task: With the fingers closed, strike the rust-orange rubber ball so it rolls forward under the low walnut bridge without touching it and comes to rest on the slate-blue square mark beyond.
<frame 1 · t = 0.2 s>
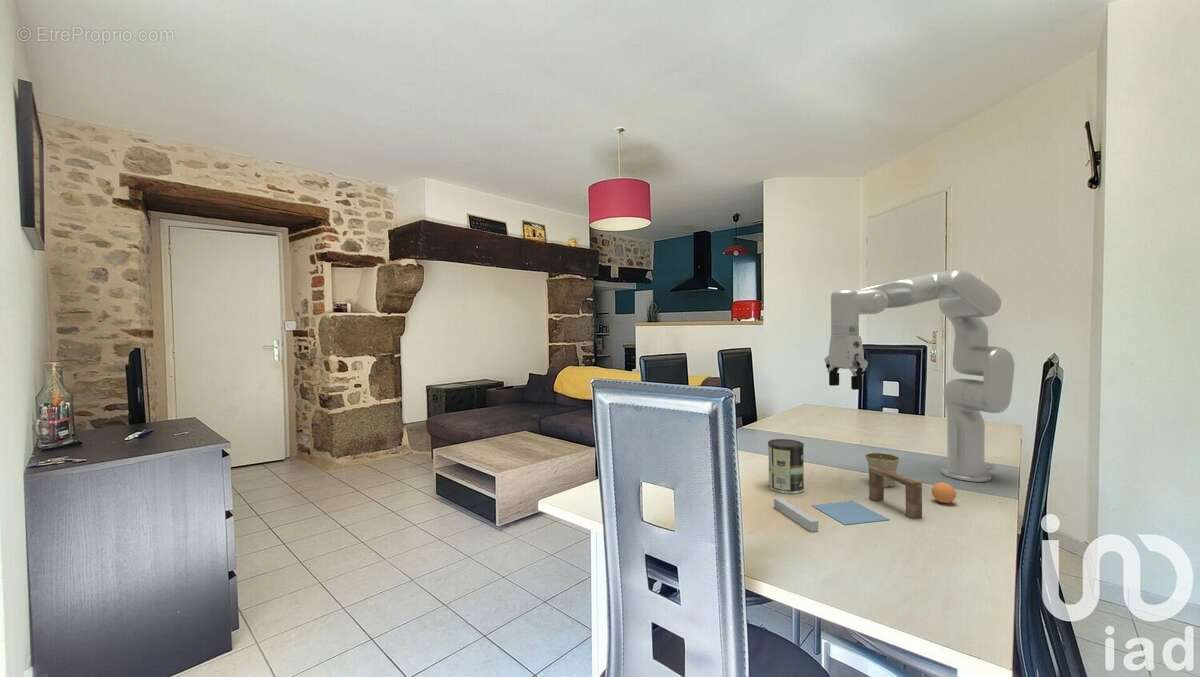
hand: (845, 387, 142), 31 cm above the table, tool pointing down, fingers open, 9 cm apart
coffee can: (786, 488, 144), on the table
bridge: (894, 507, 127), on the table
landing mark: (849, 512, 124), on the table
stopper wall: (794, 518, 121), on the table
ball: (943, 492, 130), on the table
flower pot: (882, 484, 146), on the table
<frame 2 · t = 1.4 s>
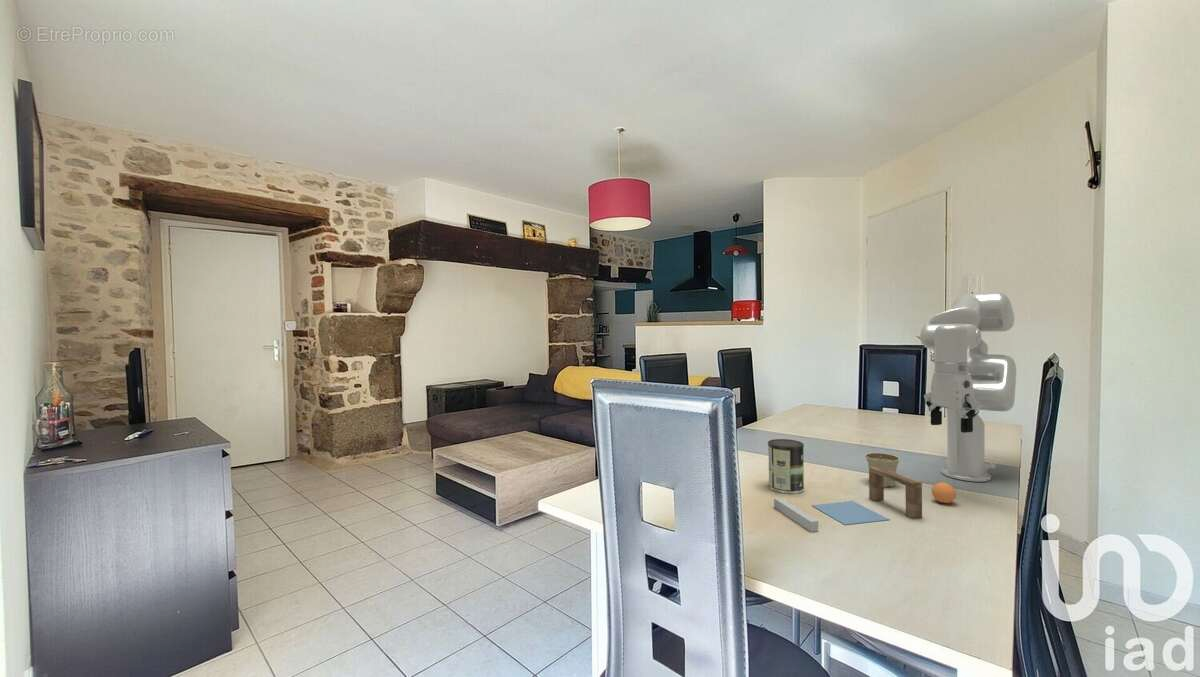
hand: (950, 428, 133), 20 cm above the table, tool pointing down, fingers open, 9 cm apart
nothing on the table moved.
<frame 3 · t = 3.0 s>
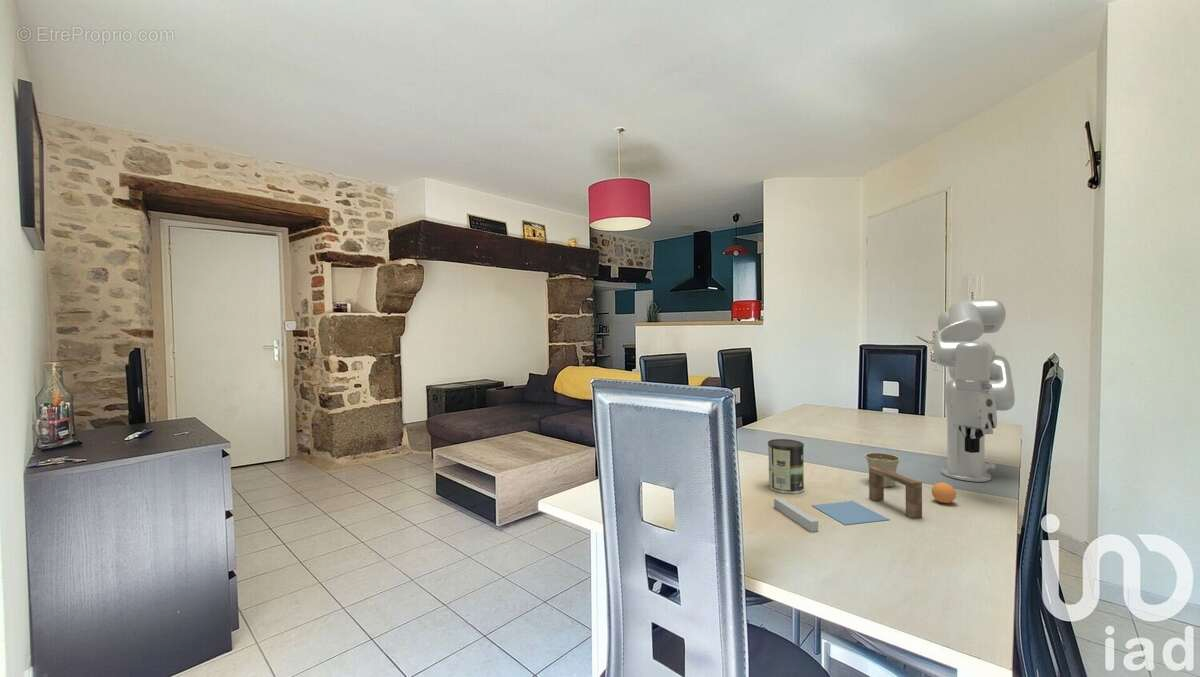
hand: (972, 451, 131), 14 cm above the table, tool pointing down, fingers closed
nothing on the table moved.
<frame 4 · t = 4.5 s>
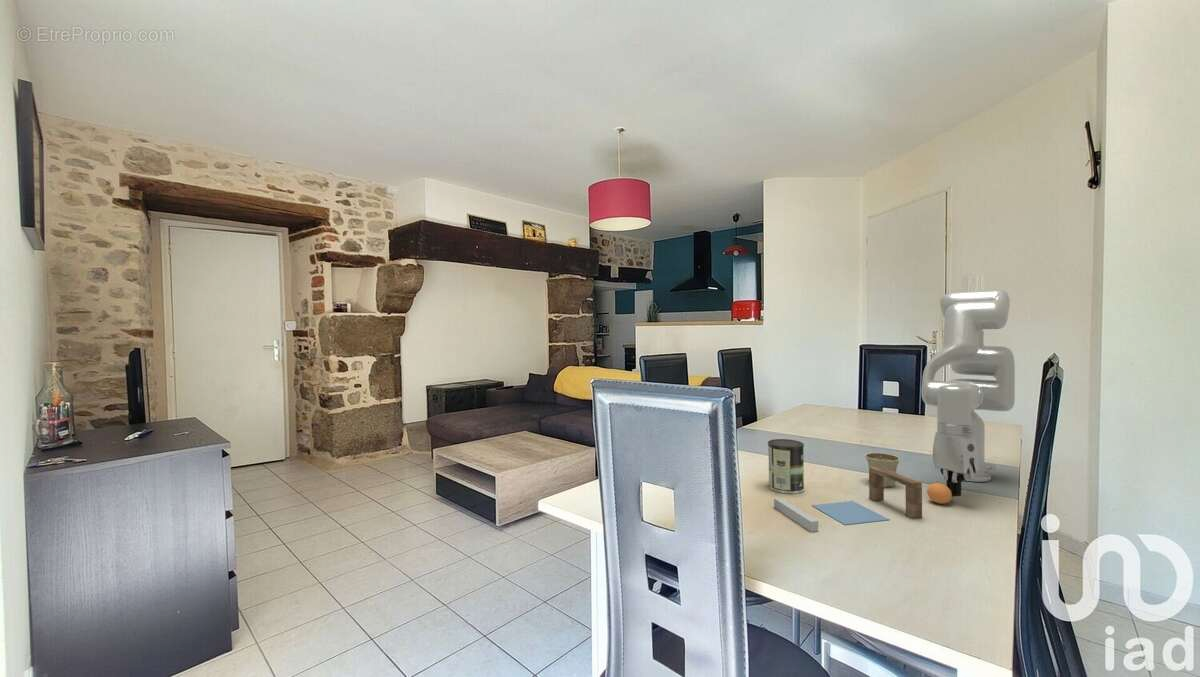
hand: (953, 495, 130), 2 cm above the table, tool pointing down, fingers closed
ball: (939, 493, 130), on the table
everything else where it was.
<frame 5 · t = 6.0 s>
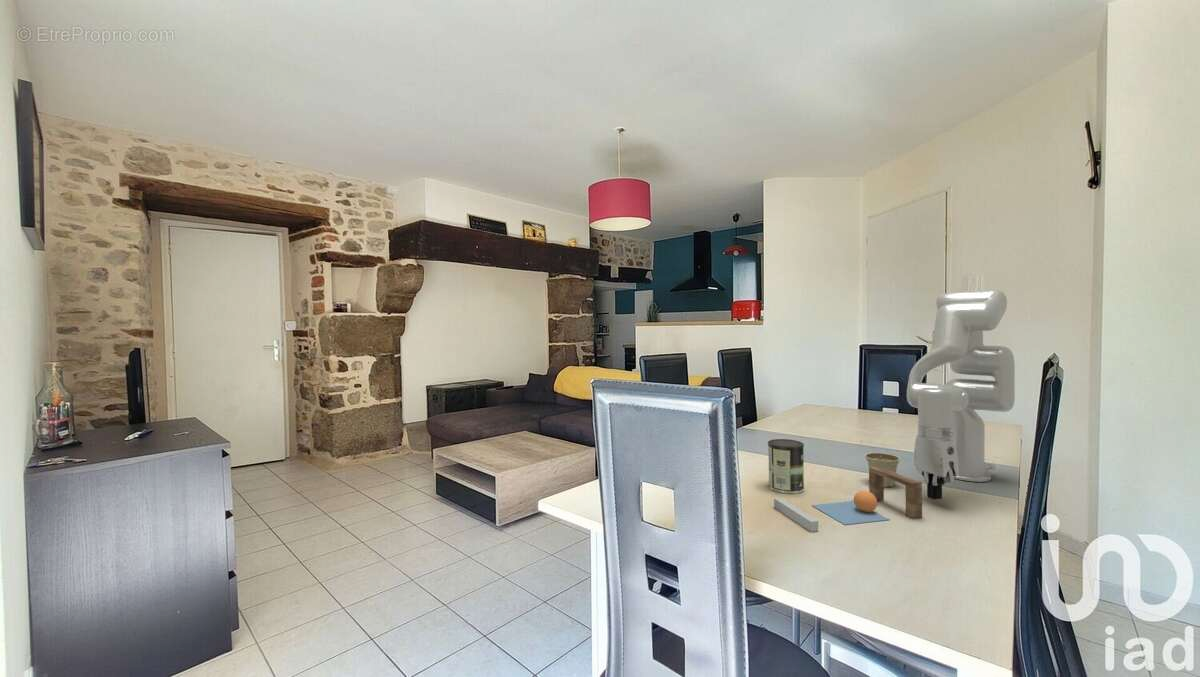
hand: (934, 498, 129), 2 cm above the table, tool pointing down, fingers closed
ball: (865, 501, 125), on the table
everything else where it was.
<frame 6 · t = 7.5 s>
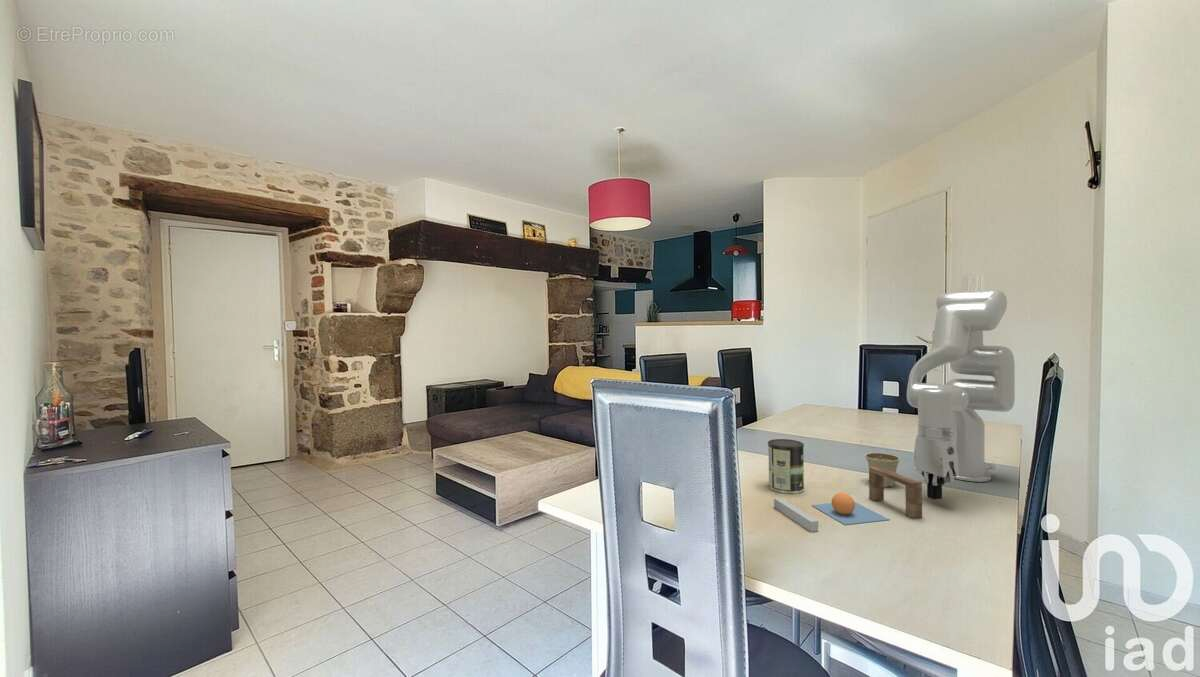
hand: (934, 498, 129), 2 cm above the table, tool pointing down, fingers closed
ball: (843, 503, 123), on the table
everything else where it was.
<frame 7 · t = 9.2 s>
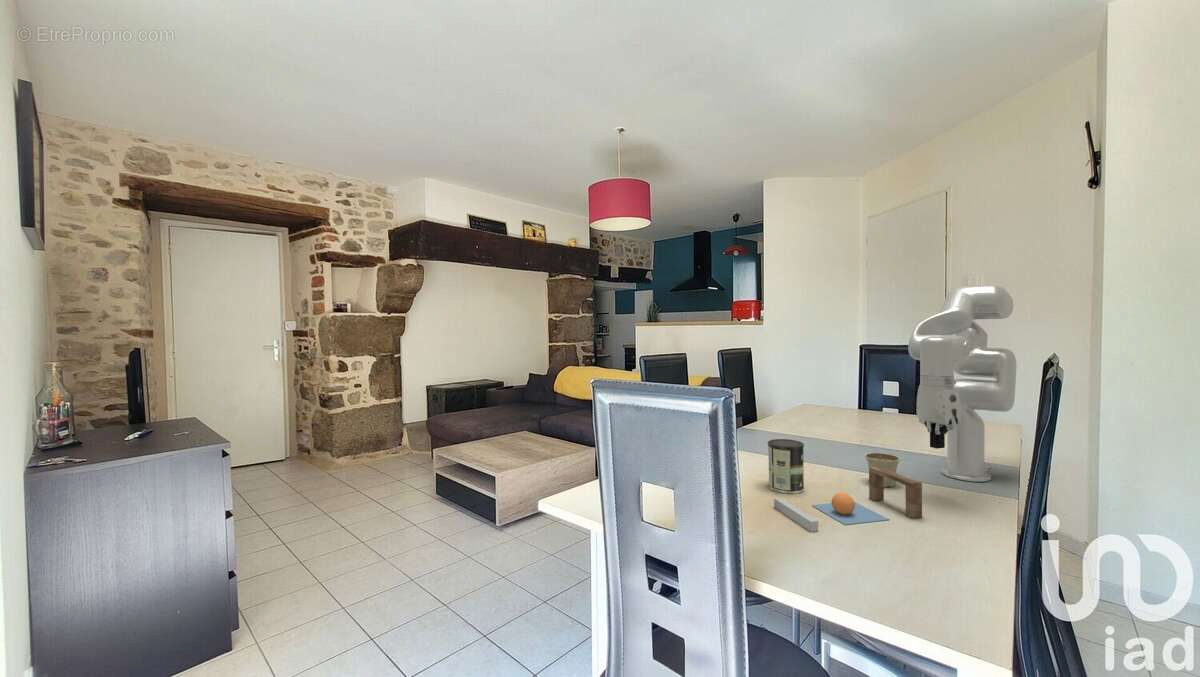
hand: (937, 447, 130), 16 cm above the table, tool pointing down, fingers closed
nothing on the table moved.
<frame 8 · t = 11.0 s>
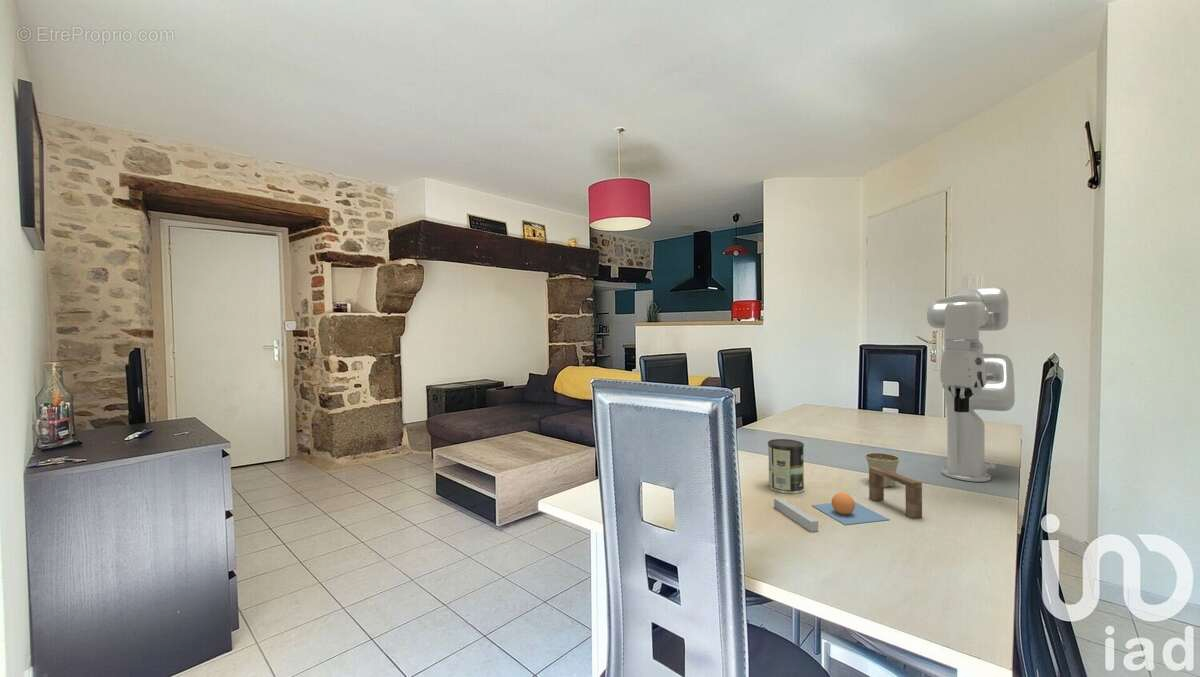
hand: (961, 411, 131), 25 cm above the table, tool pointing down, fingers closed
nothing on the table moved.
at the end: ball 2.1 cm from the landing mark (horizontally); ball never touched bridge; ball at rest at the end (0.0 cm/s) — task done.
